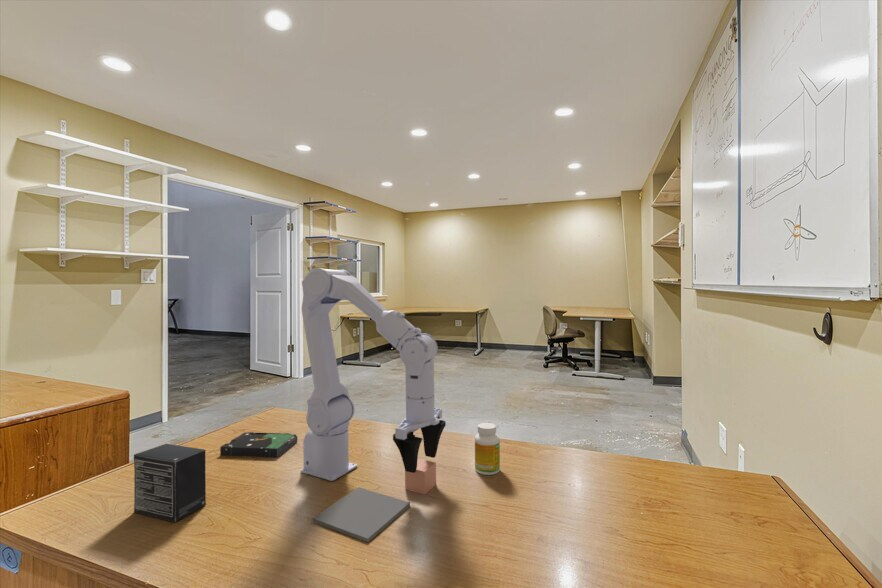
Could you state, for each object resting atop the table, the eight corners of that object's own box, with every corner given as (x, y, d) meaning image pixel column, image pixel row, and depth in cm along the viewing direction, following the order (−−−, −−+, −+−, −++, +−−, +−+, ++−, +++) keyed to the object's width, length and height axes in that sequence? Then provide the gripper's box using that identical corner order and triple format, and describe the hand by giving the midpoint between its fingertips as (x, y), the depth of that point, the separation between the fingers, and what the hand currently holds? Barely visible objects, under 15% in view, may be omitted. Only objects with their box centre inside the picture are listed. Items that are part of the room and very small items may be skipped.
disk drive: (219, 458, 95) (278, 459, 94) (219, 447, 95) (278, 447, 94) (244, 442, 106) (298, 443, 104) (244, 431, 106) (298, 432, 104)
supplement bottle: (499, 476, 83) (498, 430, 83) (473, 474, 85) (473, 429, 84) (500, 465, 89) (500, 422, 89) (476, 463, 90) (476, 420, 90)
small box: (209, 504, 74) (208, 448, 74) (175, 524, 68) (174, 462, 67) (167, 495, 77) (167, 441, 77) (132, 513, 71) (131, 454, 71)
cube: (405, 489, 79) (404, 466, 79) (417, 479, 83) (417, 458, 83) (424, 494, 77) (424, 471, 76) (436, 484, 80) (435, 462, 80)
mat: (312, 521, 68) (312, 518, 68) (358, 490, 78) (358, 487, 78) (367, 542, 62) (367, 538, 62) (410, 505, 72) (410, 502, 72)
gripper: (417, 407, 71) (418, 483, 71) (454, 389, 84) (455, 453, 84) (385, 402, 75) (386, 475, 75) (425, 386, 87) (426, 448, 87)
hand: (420, 463), depth 80 cm, fingers open, 7 cm apart
